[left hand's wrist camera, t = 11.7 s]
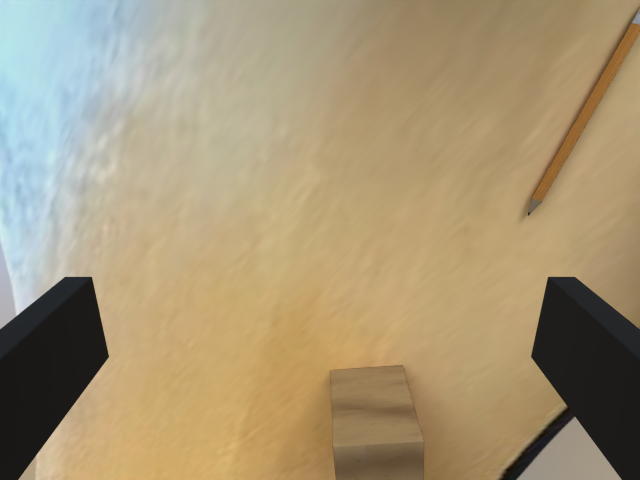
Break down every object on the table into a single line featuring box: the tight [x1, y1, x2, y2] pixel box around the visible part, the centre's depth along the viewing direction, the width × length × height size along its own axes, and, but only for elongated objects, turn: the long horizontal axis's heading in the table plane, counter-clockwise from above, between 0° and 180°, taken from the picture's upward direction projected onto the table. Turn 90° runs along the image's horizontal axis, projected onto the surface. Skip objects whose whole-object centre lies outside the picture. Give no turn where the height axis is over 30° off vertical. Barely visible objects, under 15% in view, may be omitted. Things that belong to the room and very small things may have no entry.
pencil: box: [527, 9, 640, 216], centre depth 37 cm, size 1×1×19 cm
